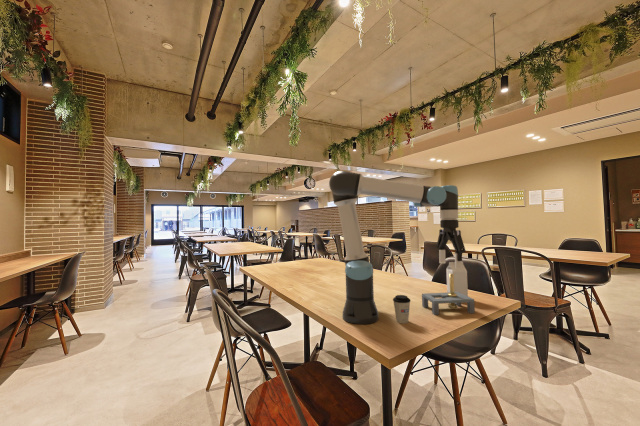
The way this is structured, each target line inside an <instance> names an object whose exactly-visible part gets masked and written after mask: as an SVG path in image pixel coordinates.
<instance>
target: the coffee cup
mask: <svg viewBox="0 0 640 426" xmlns="http://www.w3.org/2000/svg"><path fill="white" fill-rule="evenodd" d="M392 301H393V305H394V306H393V307H394V313H395V314H394V315H395V319H396V322H397V323H399V324H408V323H409V318H410V306H411V305H410V304H411V302H412V301H411V298H409V297H408V296H407V295H405V294H404V295H403V294H397V295H395V297H393V299H392Z"/></svg>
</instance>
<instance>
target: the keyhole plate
mask: <svg viewBox="0 0 640 426" xmlns="http://www.w3.org/2000/svg"><path fill="white" fill-rule="evenodd" d="M448 293H450V292H448ZM448 293H447V292H433V293H432V292H431V293H430V292H429V293H428V292H427V293H421V306H422V308H424V309H426V308H429V302H430V303H431V313H432V315H433V316H440V309H439V308H440V305H441V304H442V305H443V304H449V303H455V304H457V307H462V303H466V307H467V312H468V313H469V314H475V313H476V312H475V311H476V310H475V309H476V308H475V299H474V298H472V297H470V296H469V295H468V296H466V295H464V294H462V293H459V292H454V293H456V294H457V297H449V296H448ZM439 304H440V305H439Z"/></svg>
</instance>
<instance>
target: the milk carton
mask: <svg viewBox="0 0 640 426" xmlns="http://www.w3.org/2000/svg"><path fill="white" fill-rule="evenodd" d="M445 271H446V293H448V292H450V280H449V274H454V292H459V293H462V294H464V295H466V296H468V297H469V292H468V291H469V290H468V288H469V287H468V270H467V268H466V267H465V264H464V261H462V269H456V268H455V261H451V262H450V261H449V262H448V265H447V267H446V270H445Z"/></svg>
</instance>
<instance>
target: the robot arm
mask: <svg viewBox="0 0 640 426" xmlns="http://www.w3.org/2000/svg"><path fill="white" fill-rule="evenodd" d="M328 186H329V189H330V191H331V194H332V198H333V199H332V200H333V203H334V205H335V206H337V209H338V211H337V212H338V214H339V215H338V216H339V221H340V227H341V231H342V232H341V233H342V238H343V242H344V248H345V253H346V254H345V255H346V256H345V257H344V266H345V270H344V273H345V294H346V295H345V297H346V299H345V303H344V306H343V309H342V319H343V320H344V322H347V323H351V324H354V325H355V324H356V325H370V324H373V323H376V322H377V321H378V320H379V317H380V316H379V311H378V308H377V305H376V302H375V297H374V295H375V293H374V268H373V264H372V263H371V262H370V259H369V258H370V257H369V255H368V254H367V253H366V252H365V249H364V248H365V247H364V243H363V238H362V233H361V227H360V222H359V215H358V210H357V206H356V203H357V201H358V200H359V199H358V196H359V195H364V196H371V197H376V198H377V197H378V198H383V199H391V200H398V201H404V202H410V203H412V204H413V206H414V207H419V208H428V207H429V208H431V207H439V218H440V221H439V222H440V223H439V225H440V226H439V227H440V229H439V234H438V238H437V242H436V248H437V249H438V251H439V252H438V256H439V257H438V259H439V261H438V263H439V264H446V261H447V260H446V246H447V243H448V241H449V242H451V244H452V246H453V249H454V262H455V268H456V269H462V262H463V254H464V253H466V247H465V244H464V241H463V238H462V231H461V230H460V229H459V230H458V228H459V225H460V224H459V220H458V219H459V190H458V187H457V186H456V185H452V184H450V185H441V186H437V185H435V186H431V185H430V186H429V185H421V184H414V183H408V182H400V181H395V180H388V179H382V178H375V177H374V178H373V177H368V176H363V174H362V173H357V172H352V171H348V170H338V171H336V172H334V173H333V174H332V175H331V177H330V178H329V182H328Z"/></svg>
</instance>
